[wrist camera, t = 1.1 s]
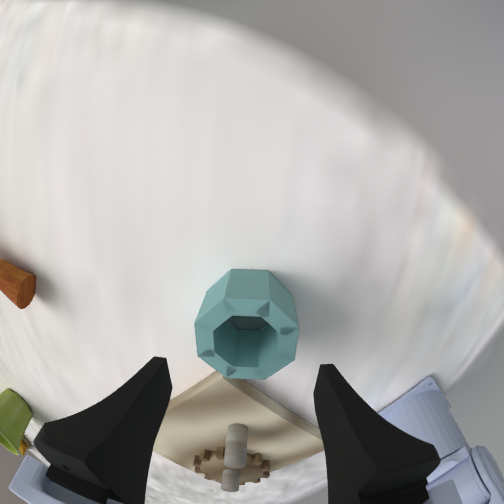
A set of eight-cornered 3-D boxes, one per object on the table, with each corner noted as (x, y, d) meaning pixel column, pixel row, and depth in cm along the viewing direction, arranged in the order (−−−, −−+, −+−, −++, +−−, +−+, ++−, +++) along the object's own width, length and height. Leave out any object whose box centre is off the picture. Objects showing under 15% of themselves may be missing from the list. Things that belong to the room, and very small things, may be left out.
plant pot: (-2, 388, 26) (-25, 417, 18) (2, 371, 24) (-27, 404, 16) (35, 426, 28) (16, 457, 20) (45, 415, 26) (21, 452, 18)
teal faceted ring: (306, 309, 18) (316, 344, 15) (247, 353, 20) (245, 391, 16) (250, 252, 17) (247, 278, 13) (191, 305, 19) (176, 338, 15)
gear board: (330, 435, 23) (338, 476, 18) (226, 476, 27) (223, 509, 22) (224, 365, 20) (215, 419, 15) (129, 424, 24) (113, 460, 19)
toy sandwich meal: (4, 429, 34) (-3, 440, 29) (-16, 396, 30) (-26, 408, 25) (38, 453, 34) (31, 465, 30) (18, 423, 30) (8, 437, 26)
